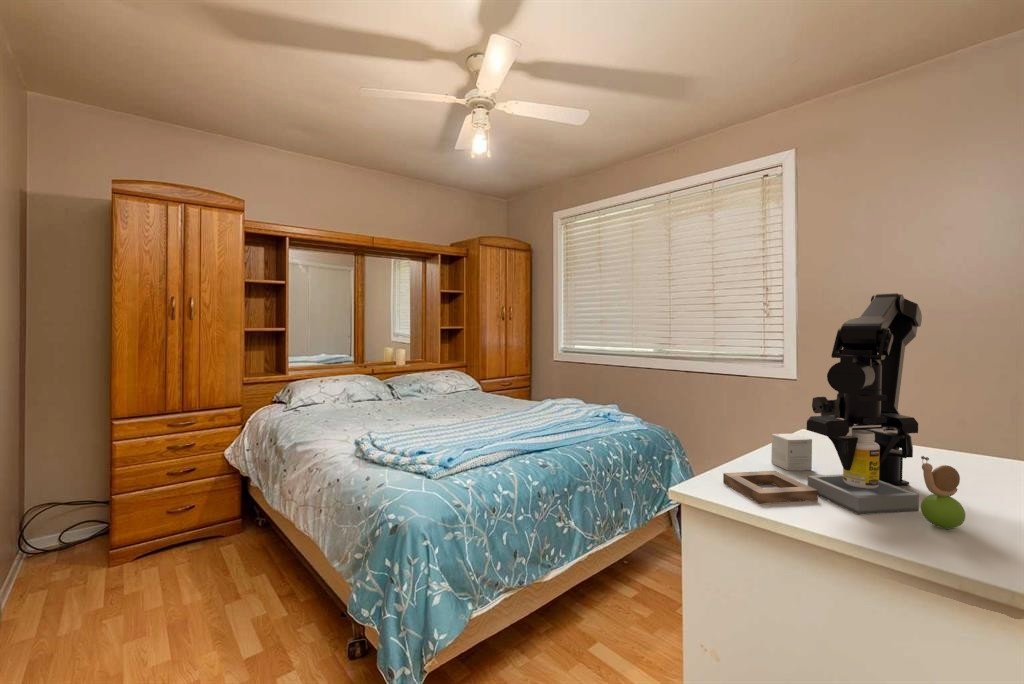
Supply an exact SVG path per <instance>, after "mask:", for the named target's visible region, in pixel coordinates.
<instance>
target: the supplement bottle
mask: <svg viewBox="0 0 1024 684" xmlns="http://www.w3.org/2000/svg"><path fill="white" fill-rule="evenodd" d="M852 436H854V437H857V438H858V441H857V445H856V450H855V454H854V458H853V462H852V466H851V468H850V470H845V469H844V468H843V467H842V474H843V480H844V482H845V483H847V484H848V485H851V486H854V487H858V488H866V489H873V488H877V487H878V486H879V463H880V446H879V445H878V444H877V443H875V442H874V441H875V433H873V432H870V431H865V430H852Z"/></svg>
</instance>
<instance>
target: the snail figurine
mask: <svg viewBox="0 0 1024 684" xmlns="http://www.w3.org/2000/svg"><path fill="white" fill-rule="evenodd" d="M920 458H921V459H922V460H925V461H926V462H923V463H922V465H921V470H922V471H923V480H924V483H925V487H926V489H927V490H928V492H930V493H931V494H930V495H928V496H926V497H924V499H923V500H922V501H921V504H920V512H921V514H922V515H923V517H924V518H925V520H926V521H928V523H930V524H931V525H933V526H935V527H937V528H941V529H944V530H945V529H947V530H949V529H956V528H958V527H961V525H963V523H964V522H965V521H966V510H965V508H964V507H963V505H962V504H961V502H959V501H958V500H956V498H954V497H952V496H954V495H955V494H956V493H958V490H959V489H958V487H959V485H960V482H961V476H960V474H959V471H958V470H957V469H956V468H955V467H953V466H952V465H951V466H950V465H946V464H943V465H940V466H936V467H935V468H934V469H933V465H932V464H931V463H928V461H929V460H930V458H929V457H928V456H925V455H922V456H920Z"/></svg>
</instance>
